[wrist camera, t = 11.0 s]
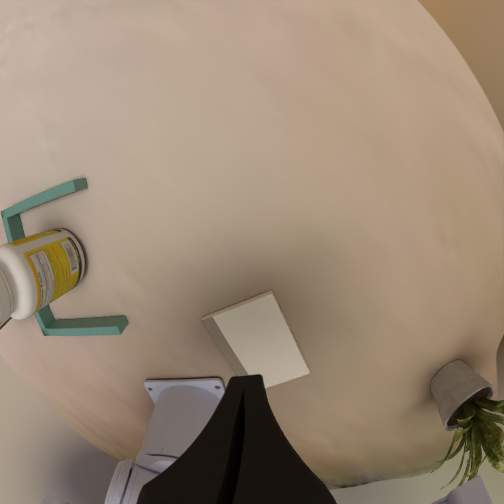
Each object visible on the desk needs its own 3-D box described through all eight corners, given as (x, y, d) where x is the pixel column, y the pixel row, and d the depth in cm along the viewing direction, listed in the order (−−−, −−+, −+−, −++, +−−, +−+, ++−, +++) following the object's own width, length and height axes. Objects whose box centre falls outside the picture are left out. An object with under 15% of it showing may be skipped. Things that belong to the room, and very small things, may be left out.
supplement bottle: (38, 265, 21) (-37, 300, 11) (53, 216, 20) (-34, 237, 10) (76, 300, 21) (4, 351, 12) (95, 250, 20) (8, 290, 11)
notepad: (309, 368, 24) (310, 373, 23) (249, 388, 25) (249, 393, 24) (271, 289, 21) (272, 293, 21) (202, 316, 22) (201, 321, 22)
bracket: (128, 323, 23) (120, 334, 21) (52, 326, 23) (44, 335, 22) (85, 177, 19) (72, 180, 17) (12, 207, 19) (0, 211, 18)
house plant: (366, 419, 27) (402, 533, 11) (429, 324, 23) (522, 444, 7) (441, 415, 28) (484, 497, 13) (497, 337, 24) (567, 414, 8)
